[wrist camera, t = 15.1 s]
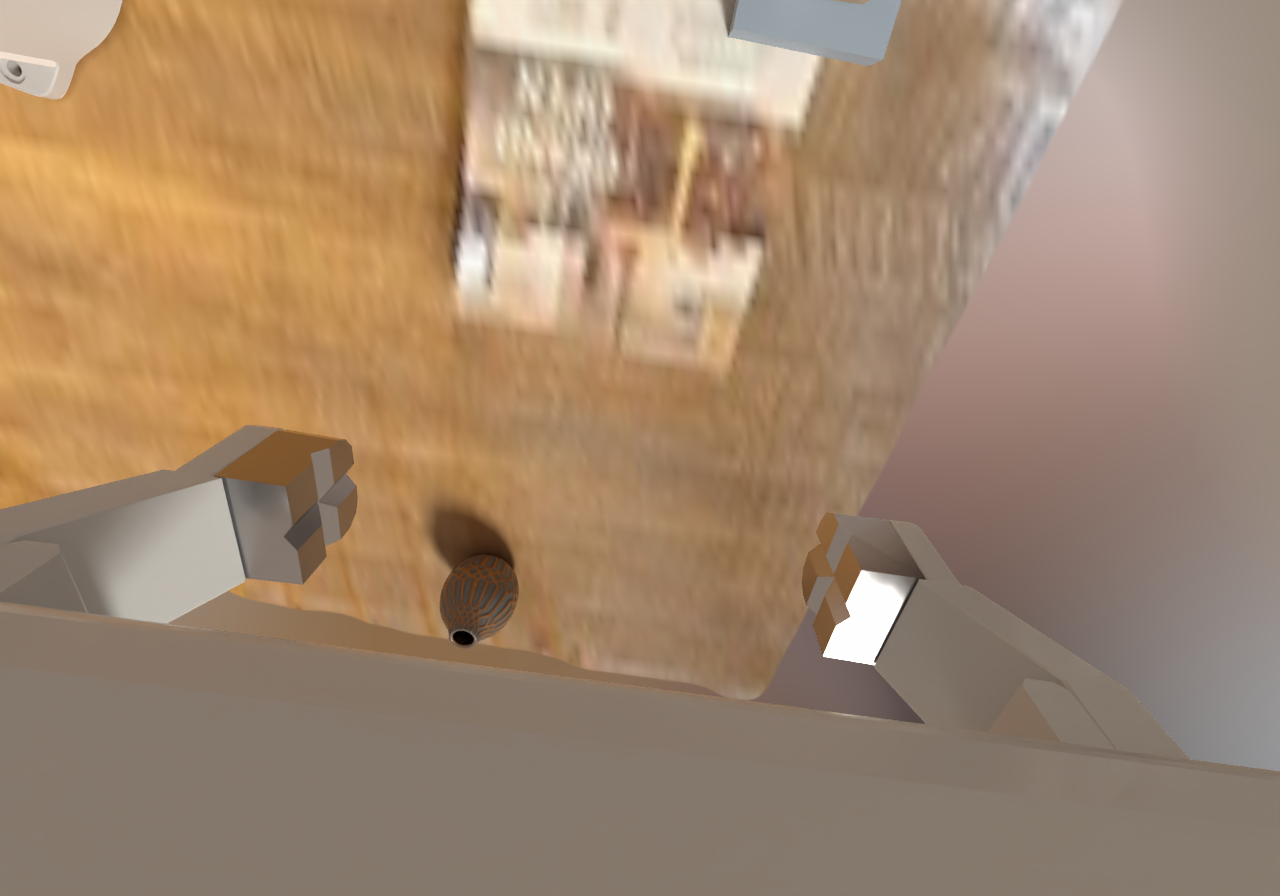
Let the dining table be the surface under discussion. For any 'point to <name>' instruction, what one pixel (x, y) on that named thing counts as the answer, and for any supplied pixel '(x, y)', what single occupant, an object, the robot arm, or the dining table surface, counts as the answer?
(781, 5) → the slab
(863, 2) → the pillar
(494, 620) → the vase
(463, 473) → the dining table surface
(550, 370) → the dining table surface
